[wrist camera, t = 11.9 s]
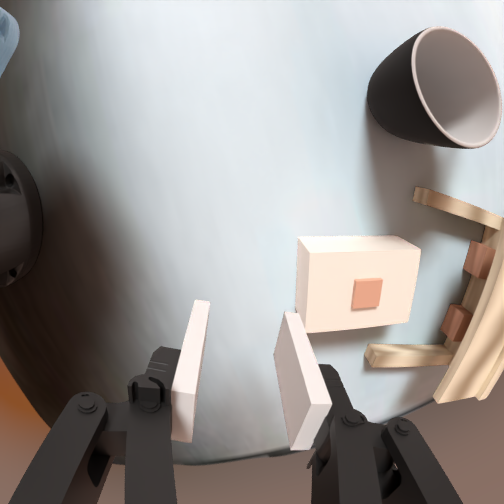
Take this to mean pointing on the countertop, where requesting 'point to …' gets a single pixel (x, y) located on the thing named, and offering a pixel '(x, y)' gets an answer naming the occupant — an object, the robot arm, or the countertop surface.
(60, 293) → the countertop surface
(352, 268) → the cream white block
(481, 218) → the shelf
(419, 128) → the mug
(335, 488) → the robot arm
